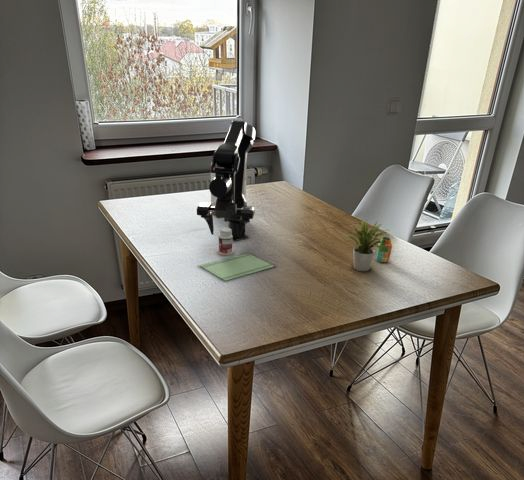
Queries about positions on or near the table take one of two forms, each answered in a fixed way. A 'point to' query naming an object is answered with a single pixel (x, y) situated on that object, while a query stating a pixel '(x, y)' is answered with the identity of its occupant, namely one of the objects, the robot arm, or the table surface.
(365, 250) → the house plant
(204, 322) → the table surface
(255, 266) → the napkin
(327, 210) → the table surface
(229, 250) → the pill bottle
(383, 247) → the colorful patterned jar
